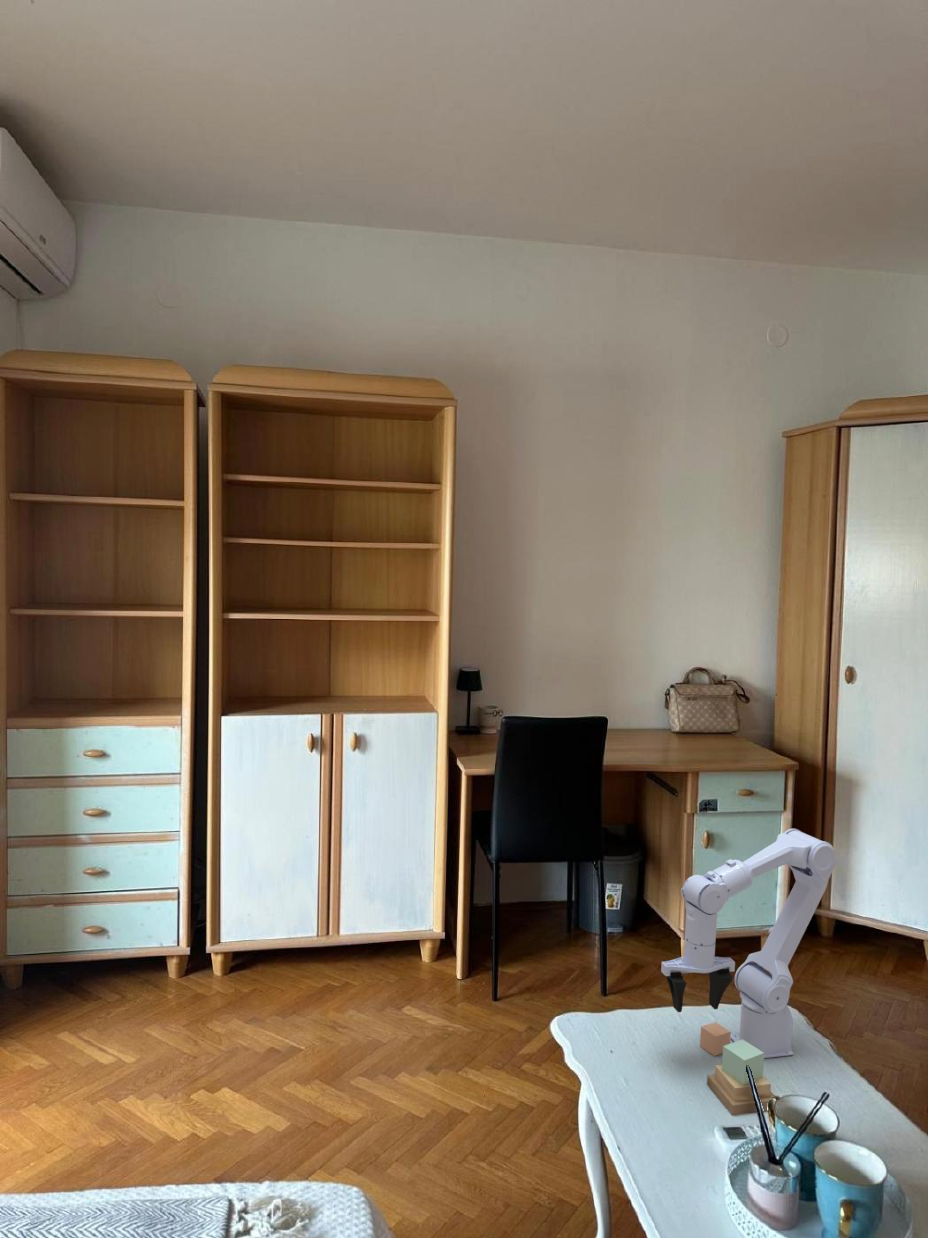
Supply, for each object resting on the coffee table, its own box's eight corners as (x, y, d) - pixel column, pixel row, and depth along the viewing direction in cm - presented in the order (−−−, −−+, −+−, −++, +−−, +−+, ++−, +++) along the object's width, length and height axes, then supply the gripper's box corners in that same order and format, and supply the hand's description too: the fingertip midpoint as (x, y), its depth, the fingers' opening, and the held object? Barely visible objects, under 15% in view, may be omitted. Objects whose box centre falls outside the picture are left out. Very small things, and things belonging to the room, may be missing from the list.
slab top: (748, 1074, 160) (749, 1061, 160) (769, 1097, 153) (770, 1084, 153) (714, 1078, 158) (715, 1065, 158) (734, 1101, 152) (735, 1088, 151)
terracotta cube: (714, 1041, 174) (715, 1022, 174) (729, 1051, 170) (730, 1032, 170) (699, 1046, 172) (700, 1026, 172) (714, 1056, 168) (715, 1036, 168)
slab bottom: (750, 1082, 161) (751, 1070, 161) (778, 1113, 153) (778, 1100, 152) (706, 1087, 159) (707, 1075, 159) (732, 1118, 151) (732, 1105, 150)
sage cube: (741, 1063, 159) (742, 1039, 159) (762, 1077, 155) (764, 1053, 154) (721, 1070, 157) (723, 1046, 156) (743, 1085, 152) (744, 1060, 152)
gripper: (723, 929, 171) (718, 995, 172) (655, 932, 167) (651, 1000, 168) (742, 944, 164) (737, 1013, 165) (672, 949, 161) (668, 1019, 161)
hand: (695, 1008), depth 166 cm, fingers open, 7 cm apart
